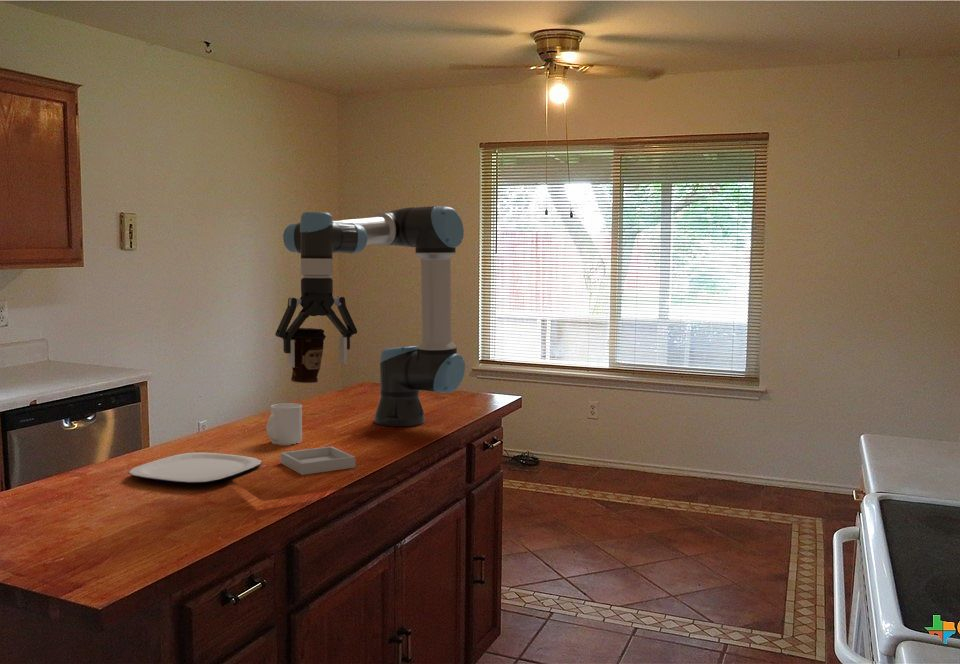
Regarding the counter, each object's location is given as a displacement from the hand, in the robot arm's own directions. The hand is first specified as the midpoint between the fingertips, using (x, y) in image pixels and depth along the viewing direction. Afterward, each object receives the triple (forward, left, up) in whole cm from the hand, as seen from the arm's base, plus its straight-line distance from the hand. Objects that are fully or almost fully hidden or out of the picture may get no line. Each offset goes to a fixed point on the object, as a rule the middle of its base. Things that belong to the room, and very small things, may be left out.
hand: (317, 365), depth 199 cm
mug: (-1, -27, -25) cm, 36 cm away
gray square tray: (0, +1, -24) cm, 24 cm away
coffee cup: (+3, 0, -4) cm, 5 cm away
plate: (+26, -9, -25) cm, 38 cm away
